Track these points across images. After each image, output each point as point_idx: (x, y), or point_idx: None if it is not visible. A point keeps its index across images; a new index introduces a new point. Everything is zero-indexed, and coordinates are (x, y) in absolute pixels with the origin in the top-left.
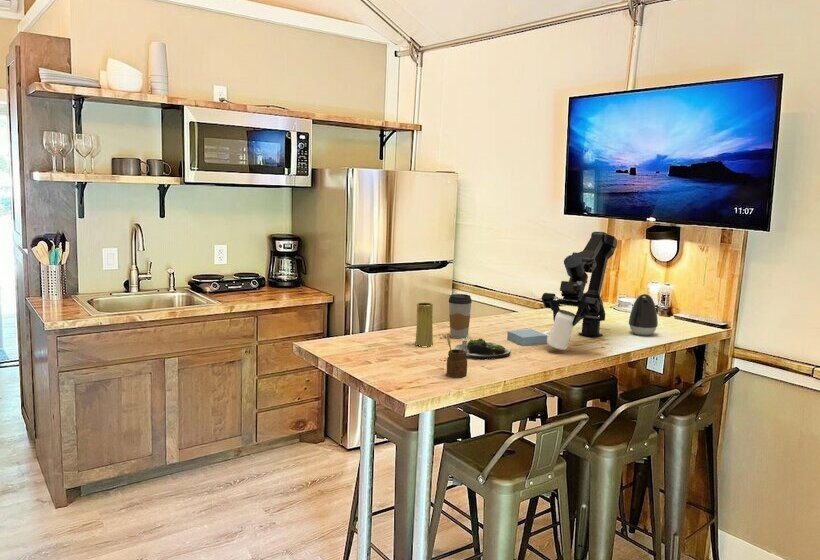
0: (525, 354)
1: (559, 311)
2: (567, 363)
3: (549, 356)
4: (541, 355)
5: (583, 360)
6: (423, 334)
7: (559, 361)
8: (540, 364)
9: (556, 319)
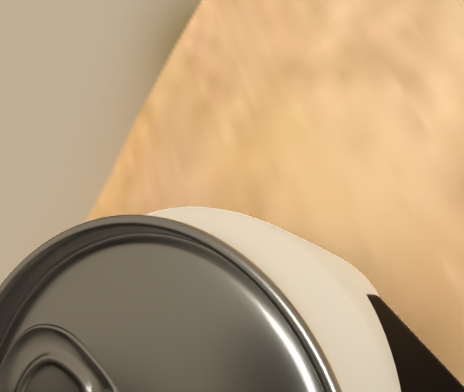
0: (447, 133)
1: (269, 280)
2: (165, 110)
3: (298, 181)
4: (350, 172)
5: (103, 217)
6: None
7: (212, 119)
8: (278, 14)
9: (314, 246)
